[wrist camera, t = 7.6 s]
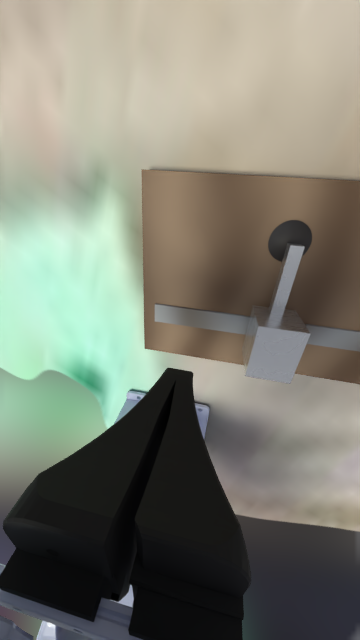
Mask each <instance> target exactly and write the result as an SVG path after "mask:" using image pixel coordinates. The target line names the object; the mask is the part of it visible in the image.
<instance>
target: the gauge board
mask: <svg viewBox="0 0 360 640" xmlns="http://www.w3.org/2000/svg"><path fill="white" fill-rule="evenodd" d="M142 217H143V275H144V334H145V349H151V350H157V351H163V352H169V353H175V354H181V355H187V356H193V357H199V358H205V359H211V360H217V361H223V362H229V363H235V364H241V365H244V362H243V353H242V348H243V344H244V340H245V336H246V332H247V327H248V323H249V319H250V315H251V311H252V307H253V305H255V306H262V307H269V306H270V302H271V299H272V295H273V292H274V288H275V285H276V281H277V278H278V274H279V271H280V267H281V264H282V260H283V257H284V253H285V250H286V246H287V243H290V244H301V245H303V246H305V248H304V251H303V254H302V257H301V260H300V263H299V266H298V270H297V273H296V276H295V279H294V282H293V285H292V288H291V291H290V294H289V297H288V301H287V304H286V307H285V310H293V311H296V312H297V314H298V315H299V317H300V318H301V320H302V321H303V323H304V324H305V326H306V327H307V329H308V330H309V332H310V333H311V334H310V337H309V339H308V342H307V344H306V346H305V349H304V351H303V354H302V356H301V359H300V361H299V364H298V366H297V368H296V371H295V374H301V375H307V376H313V377H319V378H325V379H332V380H338V381H344V382H350V383H356V384H360V181H348V180H330V179H311V178H292V177H273V176H254V175H235V174H216V173H197V172H178V171H160V170H142Z"/></svg>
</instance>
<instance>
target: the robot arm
mask: <svg viewBox="0 0 360 640" xmlns="http://www.w3.org/2000/svg"><path fill="white" fill-rule="evenodd" d="M139 396H140V397H139ZM200 408H201V409H200ZM208 416H209V407H208V406H207V405H202V404H197V403H195V401H194V395H193V373H192V372H190V371H184V370H179V369H173V368H167V369H166V370H165V372H164V373H163V374H162V376H161V377H160V378H159V380H158V381H157V382H156V383H155V385H154V386H153V387H152V388H151V389H150V390H149V391H148V393H147V394H146V393H140V392H135V391H128V393H127V400H126V402H125V404H124V406H123V408H122V409H121V411H120V413H119V415H118V417H117V419H116V421H115V423H114V425H113V426H111V427H110V428H109V429H108V430H106V431H105V432H104V433H102V434H101V435H100V436H99V437H97V438H96V439H94V440H93V441H91V442H90V443H88V444H87V445H85V446H84V447H83V448H81V449H79V450H78V451H77V452H75V453H74V454H72V455H70V456H69V457H67V458H65V459H64V460H62V461H60V462H59V463H57V464H55V465H53V466H52V467H50V468H49V469H47V470H45V471H43V472H41V473H40V474H39V475H38V476H37V477H36V478H35V479H34V481H33V482H32V483H31V484H30V485H29V486H28V488H27V489H26V490H25V492H24V493H23V494H22V496H21V497H20V499H19V500H18V501H17V503H16V504H15V505H14V507H13V508H12V510H11V511H10V513H9V514H8V515H7V517H6V518H5V520H4V522H3V529H4V531H5V533H6V534H7V536H8V537H9V538H10V540H11V541H12V543H13V544H14V545H15V547H16V550H15V552H14V553H13V555H12V556H11V558H10V560H9V561H8V563H7V565H6V566H5V565H3V564H0V605H1V606H4V607H6V608H9V609H12V610H15V611H18V612H20V613H23V614H26V615H29V616H32V617H35V618H37V619H40V620H43V621H42V624H41V627H40V630H39V633H38V636H37V639H36V640H242V620H243V617H244V611H243V594H244V593H245V591H246V590H247V588H248V587H249V586H250V584H251V571H250V565H249V559H248V554H247V550H246V545H245V541H244V538H243V534H242V530H241V526H240V524H239V522H238V520H237V518H236V516H235V514H234V512H233V510H232V507H231V505H230V503H229V501H228V499H227V497H226V495H225V493H224V490H223V488H222V486H221V484H220V481H219V479H218V476H217V474H216V471H215V469H214V466H213V464H212V461H211V459H210V456H209V453H208V451H207V448H206V445H205V442H204V437H205V432H206V426H207V421H208ZM0 640H33V636H32V635H30V634H28V633H26V632H25V631H23V630H22V629H20V628H19V627H18V626H16V625H15V624H14V622H13V621H11V620H9V619H7V618H4V617H2V616H0Z"/></svg>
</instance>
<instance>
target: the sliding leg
mask: <svg viewBox="0 0 360 640" xmlns="http://www.w3.org/2000/svg"><path fill="white" fill-rule="evenodd" d="M304 248H305V246H303V245H301V244H290V243H287V246H286V250H285V253H284V257H283V260H282V264H281V267H280V271H279V274H278V278H277V281H276V285H275V288H274V292H273V295H272V299H271V302H270V306H269V307H262V306H255V305H253V307H252V311H251V315H250V319H249V323H248V327H247V332H246V336H245V340H244V344H243V348H242V353H243V362H244V371H245V376H248V377H254V378H260V379H266V380H272V381H277V382H283V383H289V384H290V383H291V381H292V378H293V376H294V373H295V371H296V368H297V366H298V364H299V361H300V359H301V356H302V354H303V351H304V349H305V346H306V344H307V342H308V339H309V337H310V334H311V333H310V332H309V330H308V329H307V327H306V326H305V324H304V323H303V321H302V320H301V318H300V317H299V315H298V314H297V312H296V311H293V310H285V307H286V304H287V301H288V297H289V294H290V291H291V288H292V285H293V282H294V279H295V276H296V273H297V270H298V266H299V263H300V260H301V257H302V254H303V251H304Z"/></svg>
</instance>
